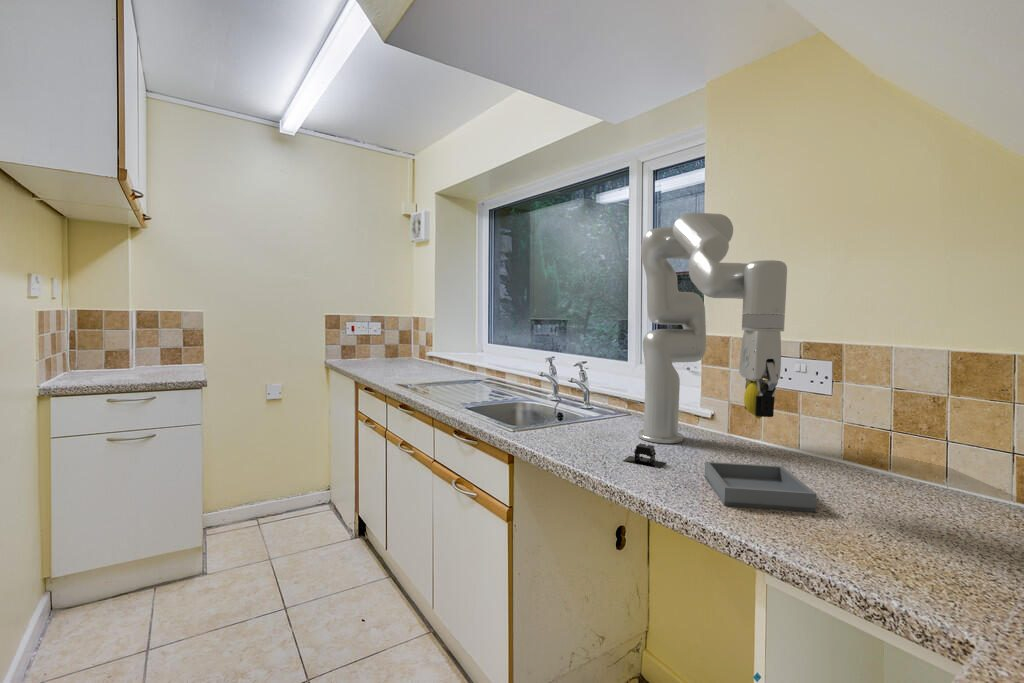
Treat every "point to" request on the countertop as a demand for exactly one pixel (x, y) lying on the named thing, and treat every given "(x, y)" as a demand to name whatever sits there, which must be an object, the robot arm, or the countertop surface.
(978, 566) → the countertop surface
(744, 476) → the tray
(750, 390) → the lemon
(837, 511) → the countertop surface
